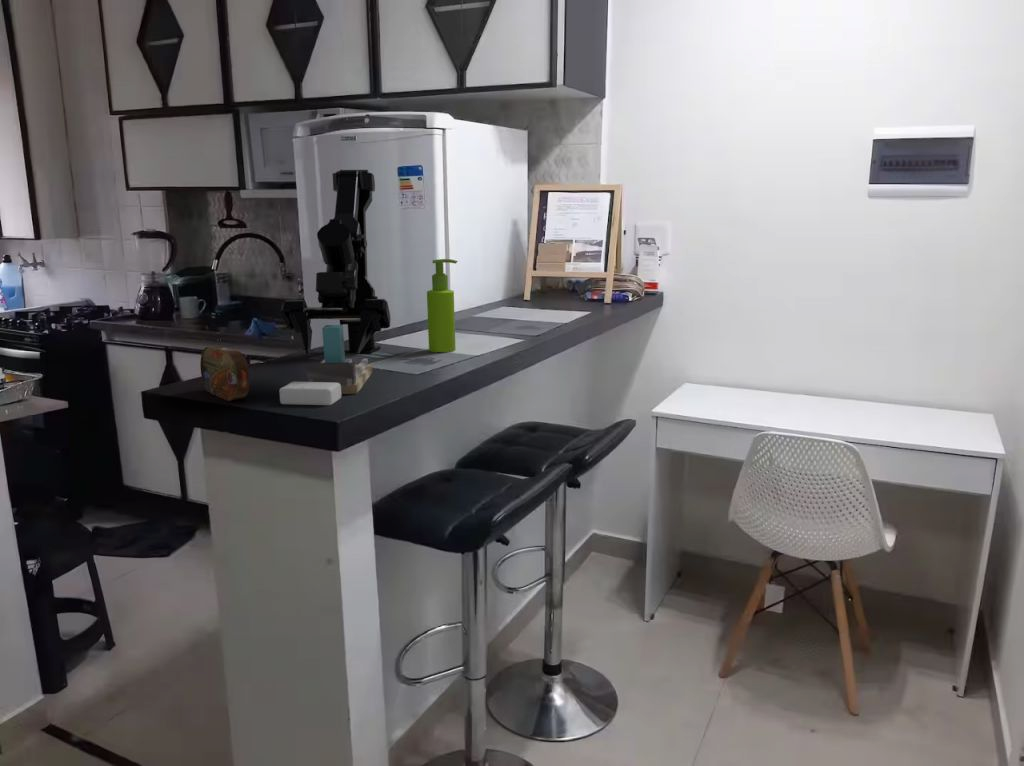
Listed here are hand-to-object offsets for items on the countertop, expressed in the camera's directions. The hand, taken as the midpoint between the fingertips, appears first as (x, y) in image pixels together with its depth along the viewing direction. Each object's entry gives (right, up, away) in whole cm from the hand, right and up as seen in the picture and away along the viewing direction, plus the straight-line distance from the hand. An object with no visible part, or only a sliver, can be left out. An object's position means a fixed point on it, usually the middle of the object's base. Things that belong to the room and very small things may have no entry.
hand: (332, 353), depth 133 cm
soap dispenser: (+16, +2, +36) cm, 40 cm away
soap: (-2, -9, -6) cm, 10 cm away
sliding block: (0, -4, +3) cm, 5 cm away
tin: (-18, -8, -2) cm, 19 cm away
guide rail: (0, -5, +7) cm, 8 cm away
